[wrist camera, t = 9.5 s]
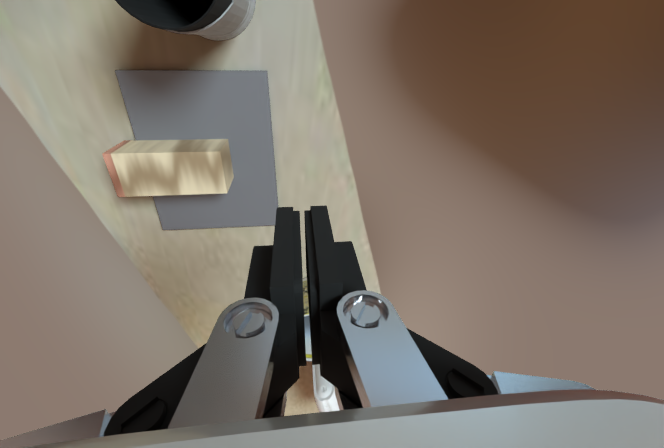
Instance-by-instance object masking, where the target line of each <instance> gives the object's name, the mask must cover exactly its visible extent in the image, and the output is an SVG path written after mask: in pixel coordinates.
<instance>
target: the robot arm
mask: <svg viewBox="0 0 664 448" xmlns="http://www.w3.org/2000/svg"><path fill="white" fill-rule="evenodd" d="M305 240H306V269H307V289H308V305H309V320H310V336H311V351H312V365H317V364H320V376H322V377H323V378H325V379H326V380H327V381H329V382H330V383H331V384H332V385H334V388H335V396H336V399H337V403H338V406H339V411H329V412H320V413H310V414H301V415H292V416H284V413H285V407H286V401H287V390H288V389H289V388H290V387H291V386H292V385H293V384H294V383H295V382H296V381H297V380H298V378H299V366H306V347H305V324H304V301H303V279H302V257H301V235H300V213H299V211H293V207H279V208H277V210H276V221H275V232H274V244H273V245H269V246H254V248H253V253H252V258H251V264H250V269H249V275H248V280H247V286H246V291H245V297H244V299H242V300H239V301H237V302H235V303H233V304H231V305H229V306H228V307H227V308H226V309H225V310H224V311H223V312H222V313H221V315H220V316H219V318H218V320H217V322H216V324H215V326H214V329H213V331H212V333H211V335H210V337H209V339H208V342H207V343H206V344H205V345H203V346H202V347H200V348H199V349H198V350H196V351H195V352H194V353H192V354H191V355H190V356H188V357H187V358H185V359H184V360H182V361H181V362H180V363H178V364H177V365H175V366H174V367H173V368H171V369H170V370H169V371H167V372H166V373H164V374H163V375H162V376H160V377H159V378H158V379H156V380H155V381H153V382H152V383H151V384H149V385H148V386H146V387H145V388H144V389H142V390H141V391H139V392H138V393H137V394H135V395H134V396H132V397H131V398H130V399H129V400H128V401H126V402H125V403H124V404H123V405H122V406H121V407H119V409H118V410H117V411H116V412H113V413H108V412H107V410H106V409H104V410H101V411H98V412H95V413H91V414H88V415H84V416H81V417H78V418H74V419H71V420H68V421H64V422H61V423H57V424H54V425H51V426H47V427H44V428H41V429H37V430H34V431H31V432H27V433H24V434H21V435H17V436H14V437H11V438H7V439H4V440H0V448H664V400H662V399H657V398H654V397H649V396H646V395H639V394H632V393H625V392H618V391H607V390H596V389H594V388H592V387H590V386H588V385H586V384H583V383H579V382H575V381H569V380H561V379H553V378H545V377H537V376H529V375H520V374H512V373H504V372H496V371H494V372H493V374H492V376H490V375H486V374H485V373H484V372H483V371H481V370H480V369H478V368H477V367H476V366H474V365H472V364H471V363H469V362H467V361H465V360H463V359H461V358H460V357H458V356H456V355H454V354H452V353H451V352H449V351H447V350H445V349H443V348H442V347H440V346H438V345H436V344H434V343H433V342H431V341H429V340H427V339H425V338H424V337H422V336H420V335H418V334H416V333H414V332H413V331H411V330H409V329H407V328H406V327H405V325H404V323H403V322H402V320H401V318H400V317H399V315H398V313H397V312H396V310H395V308H394V307H393V305H392V304H391V303H390V301H389V300H388V299H387V298H385V297H384V296H382V295H381V294H378V293H375V292H372V291H367V290H366V287H365V284H364V280H363V277H362V273H361V270H360V267H359V263H358V260H357V257H356V253H355V250H354V247H353V244H352V242H351V241H349V242H334V239H333V234H332V229H331V224H330V220H329V215H328V210H327V206H311V209H310V210H309V211H305Z"/></svg>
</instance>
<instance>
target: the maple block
mask: <svg viewBox="0 0 664 448" xmlns="http://www.w3.org/2000/svg"><path fill="white" fill-rule="evenodd" d="M103 157H104V160H105V163H106V165H107V168H108V171H109V174H110V176H111V179H112V182H113V185H114V187H115V190H116V193H117V196H118V197H133V196H163V195H193V194H224V193H228V190H229V188H230V186H231V183H232V181H233V178H234V174H233V168H232V161H231V155H230V148H229V142H228V139H195V140H133V141H123V142H121V143H119V144H118V145H116V146H114V147H113V148H111V149H109V150H108V151H106V152H104V153H103Z"/></svg>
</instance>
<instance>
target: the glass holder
mask: <svg viewBox="0 0 664 448" xmlns="http://www.w3.org/2000/svg"><path fill="white" fill-rule="evenodd" d="M115 1H116V2H117V3H118V4H119V5H120V6H121V7H122V8H123V9H124V10H126V11H127V12H128V13H129V14H130V15H132V16H133V17H135V18H136V19H138V20H140V21H141V22H143V23H145V24H148V25H150V26H152V27H156V28H160V29H164V30H166V31H170V32H173V33H178V34H197V35H200V36H202V37H204V38H207V39H211V40H219V41H221V40H228V39H231V38H234V37H235V36H237V35H239V34H240V33H241V32H242V31H243V30H244V29H245V28H246V27H247V26H248V24H249V23H250V21H251V19H252V16H253V13H254V9H255V3H256V0H115Z"/></svg>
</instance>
